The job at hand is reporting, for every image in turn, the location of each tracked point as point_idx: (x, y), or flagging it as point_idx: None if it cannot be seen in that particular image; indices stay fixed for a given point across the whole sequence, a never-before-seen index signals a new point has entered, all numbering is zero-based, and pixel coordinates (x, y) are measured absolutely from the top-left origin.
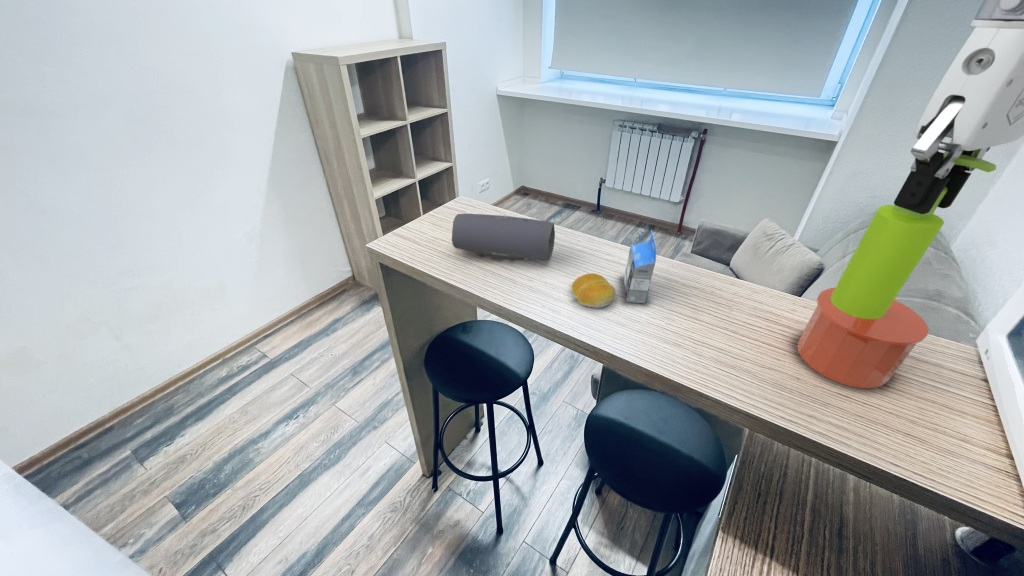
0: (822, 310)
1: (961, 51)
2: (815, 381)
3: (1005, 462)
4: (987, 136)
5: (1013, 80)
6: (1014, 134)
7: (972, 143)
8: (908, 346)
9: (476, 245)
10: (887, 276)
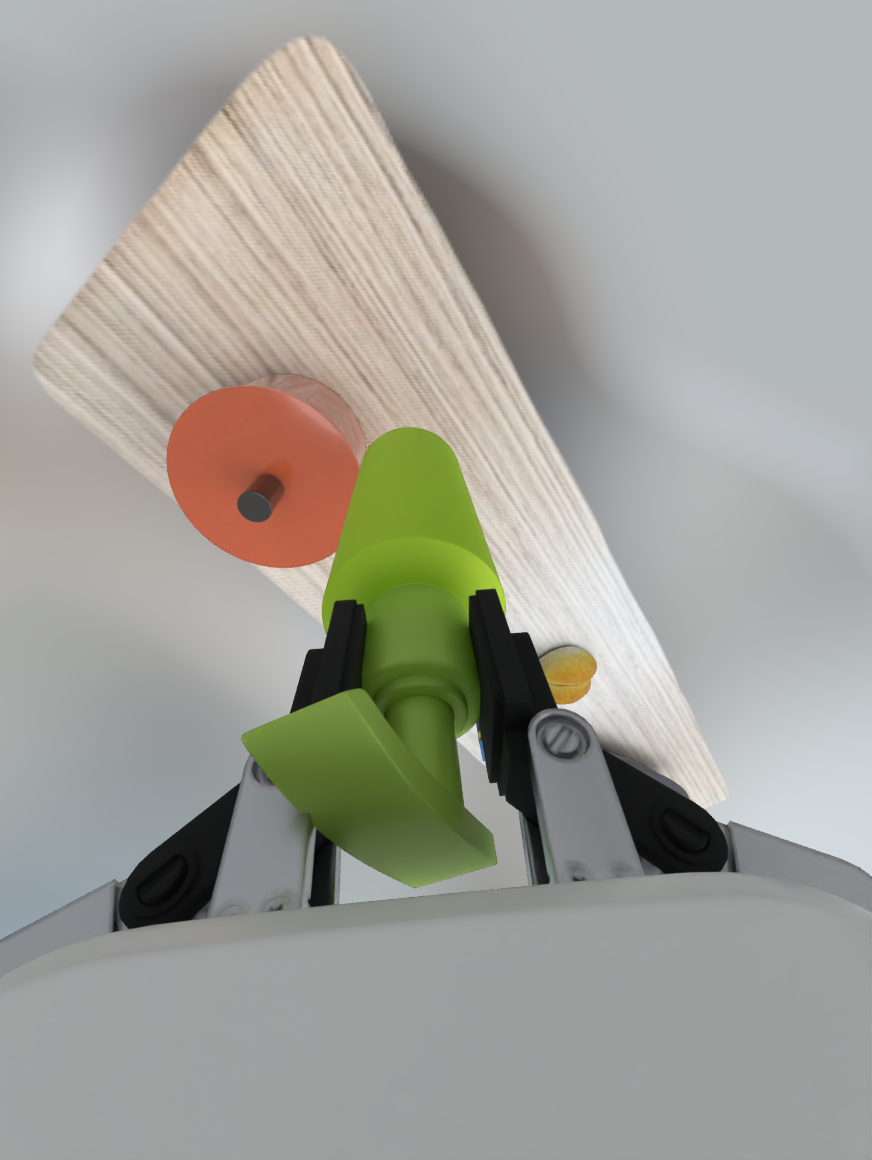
0: None
1: None
2: (386, 424)
3: (206, 130)
4: (768, 1050)
5: None
6: (173, 1049)
7: None
8: None
9: (663, 779)
10: (456, 481)
